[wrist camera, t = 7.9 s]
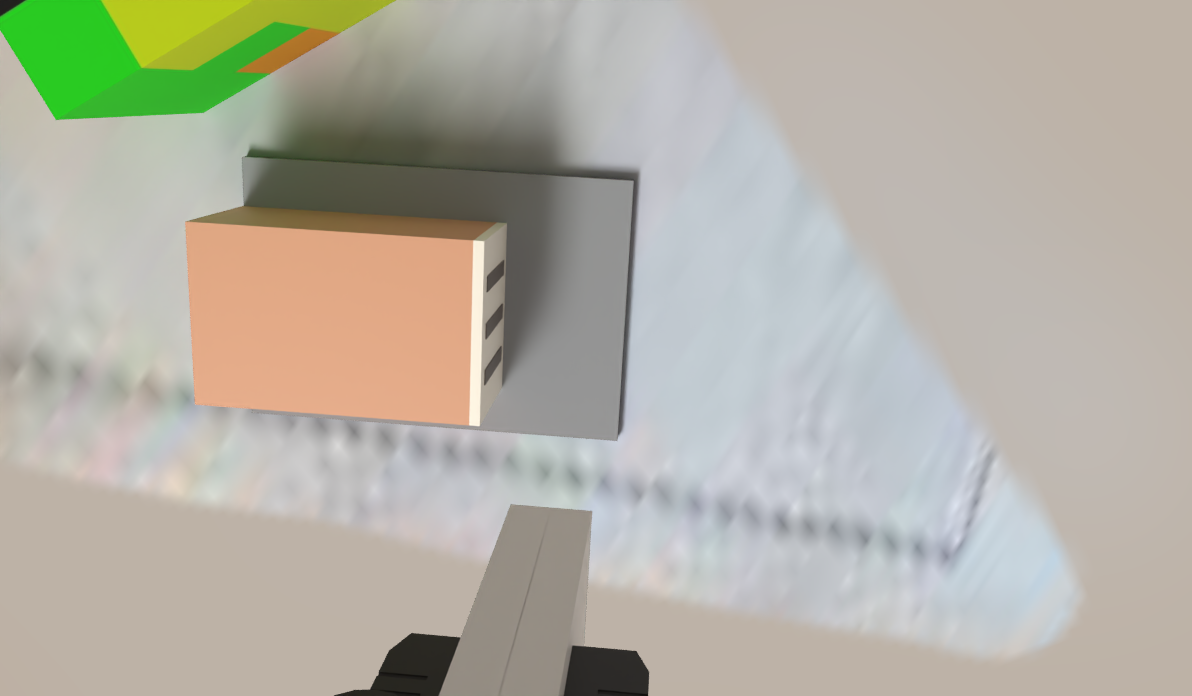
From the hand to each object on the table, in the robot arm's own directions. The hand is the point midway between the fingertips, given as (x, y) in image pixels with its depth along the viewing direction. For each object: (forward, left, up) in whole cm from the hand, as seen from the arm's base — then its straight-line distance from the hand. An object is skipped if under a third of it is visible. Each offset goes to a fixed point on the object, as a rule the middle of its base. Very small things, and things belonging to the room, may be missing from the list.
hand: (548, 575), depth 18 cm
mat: (0, -8, -24) cm, 25 cm away
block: (0, -5, -21) cm, 21 cm away
